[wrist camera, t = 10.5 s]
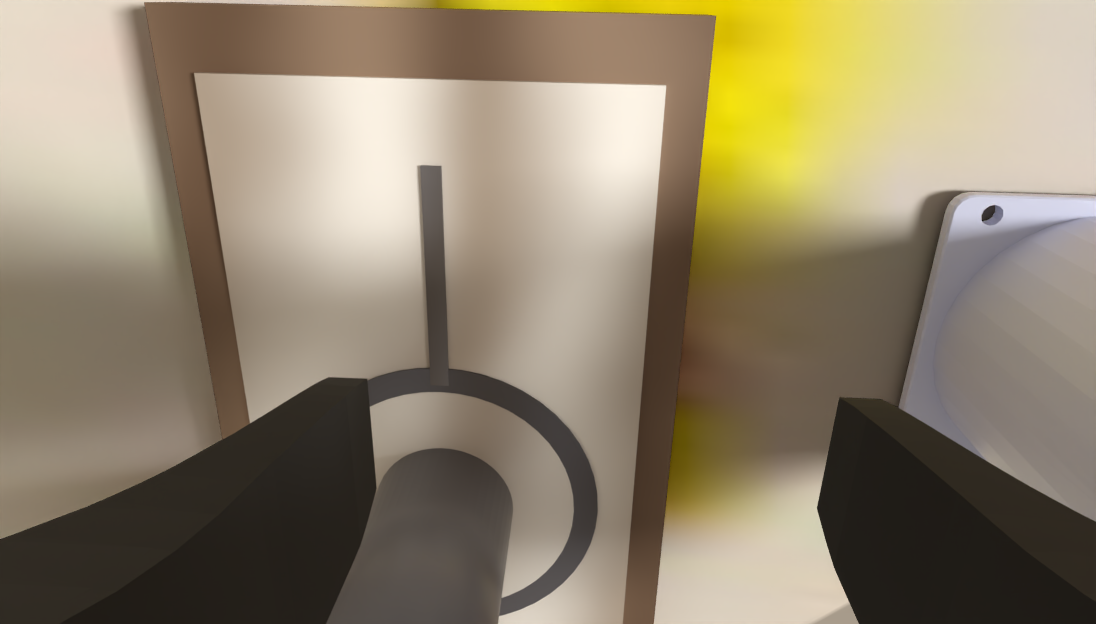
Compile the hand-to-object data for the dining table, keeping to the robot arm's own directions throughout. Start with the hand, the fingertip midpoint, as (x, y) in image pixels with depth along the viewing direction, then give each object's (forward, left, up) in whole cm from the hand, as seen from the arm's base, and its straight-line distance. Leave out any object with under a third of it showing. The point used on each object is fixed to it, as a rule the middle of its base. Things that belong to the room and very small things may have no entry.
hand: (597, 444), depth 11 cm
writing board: (+4, +4, -9) cm, 11 cm away
